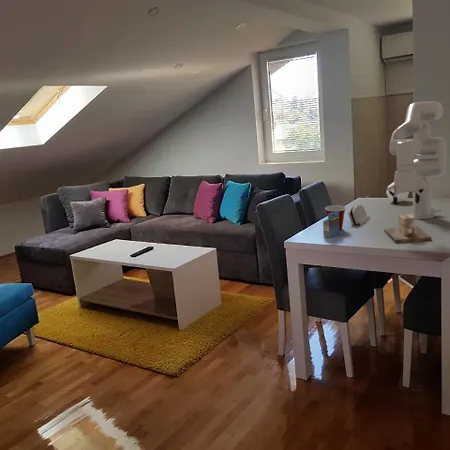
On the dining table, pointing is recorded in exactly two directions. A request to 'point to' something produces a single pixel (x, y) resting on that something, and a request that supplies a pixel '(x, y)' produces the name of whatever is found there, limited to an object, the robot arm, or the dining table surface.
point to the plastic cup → (333, 209)
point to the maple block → (406, 224)
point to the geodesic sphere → (400, 196)
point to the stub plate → (401, 238)
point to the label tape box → (331, 225)
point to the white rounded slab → (358, 215)
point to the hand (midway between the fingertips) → (406, 203)
